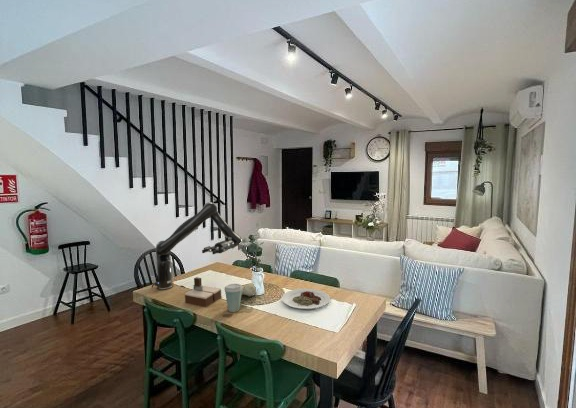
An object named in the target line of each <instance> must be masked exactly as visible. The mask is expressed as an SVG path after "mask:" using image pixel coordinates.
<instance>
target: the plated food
mask: <svg viewBox="0 0 576 408" xmlns="http://www.w3.org/2000/svg"><path fill="white" fill-rule="evenodd" d="M281 301H282V302H283V304H284V305H286V306H288V307H291V308H293V309H294V308H295V309H300V310H301V309H302V310H312V309H317V308H318V309H319V308H322V307H324V306H326V305H327V304H329V303H330V302H331V297H330V295H329V294H328V293H327V292H325V291H323V290H320V289H314V288H296V289H292V290H289V291H286V292H285V293H283V295H282V297H281Z"/></svg>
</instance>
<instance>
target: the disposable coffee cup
mask: <svg viewBox="0 0 576 408" xmlns="http://www.w3.org/2000/svg"><path fill="white" fill-rule="evenodd" d="M223 289H224V293H225V294H224V295H225V297H226V298H225V299H226V305H227V310H228V312H229V313H235V312H238V311H239V310H240V308H241V300H242V295H241V294H242V290H243V289H244V287H243V285H242V284H240V283H229V284H226V286H224V288H223Z"/></svg>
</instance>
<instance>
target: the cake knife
mask: <svg viewBox="0 0 576 408" xmlns="http://www.w3.org/2000/svg"><path fill="white" fill-rule="evenodd" d="M193 278H194V279H193V283H194V284H193V285H192V286H193V290H197V291H202V292H203V286H204V285H202V277H199V276H198V277H197V276H196V277H193Z"/></svg>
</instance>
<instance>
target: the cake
mask: <svg viewBox="0 0 576 408" xmlns="http://www.w3.org/2000/svg"><path fill="white" fill-rule="evenodd" d="M202 286H203V292H202V291H197V290H194V289H191V290H189V291H187V292H186V293H185V292H184V303H185V304H190V305H194V306H199V307H203V308H207V307H208V306H210V305H211V304H213V303H215V302H216V301H218V300H220V299H221V298H222V288H220V287H213V286H209V285H208V286H207V285H202Z"/></svg>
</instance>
